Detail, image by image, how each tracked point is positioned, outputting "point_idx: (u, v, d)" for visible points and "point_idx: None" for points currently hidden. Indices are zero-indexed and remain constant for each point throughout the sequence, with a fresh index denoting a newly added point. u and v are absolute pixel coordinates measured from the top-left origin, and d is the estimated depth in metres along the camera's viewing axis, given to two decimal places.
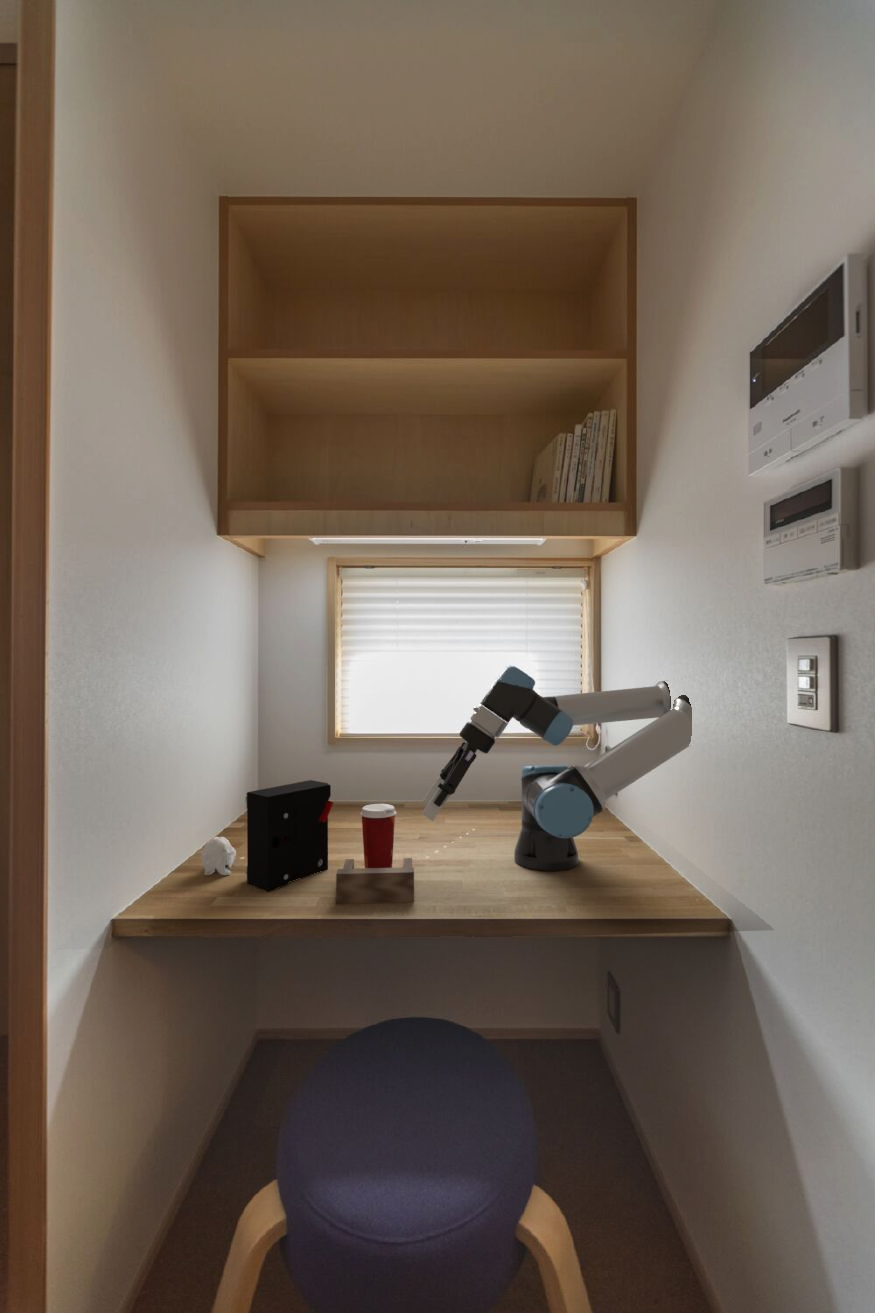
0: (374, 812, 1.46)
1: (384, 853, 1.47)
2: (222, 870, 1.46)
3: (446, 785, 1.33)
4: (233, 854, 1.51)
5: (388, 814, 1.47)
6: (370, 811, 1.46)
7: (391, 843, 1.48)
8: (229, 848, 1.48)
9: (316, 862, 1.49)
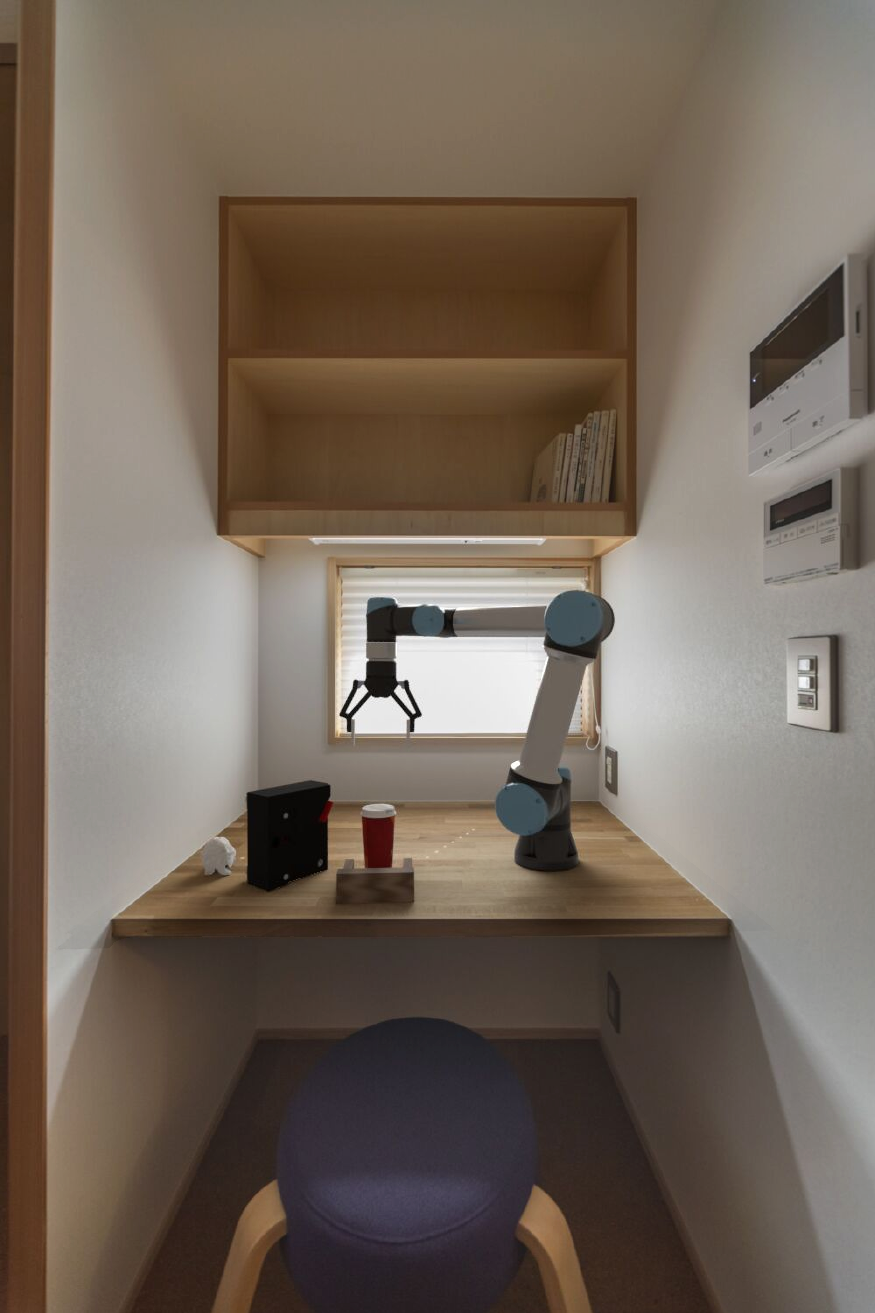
0: (374, 812, 1.46)
1: (384, 853, 1.47)
2: (222, 870, 1.46)
3: None
4: (233, 854, 1.51)
5: (388, 814, 1.47)
6: (370, 811, 1.46)
7: (391, 843, 1.48)
8: (229, 848, 1.48)
9: (316, 862, 1.49)
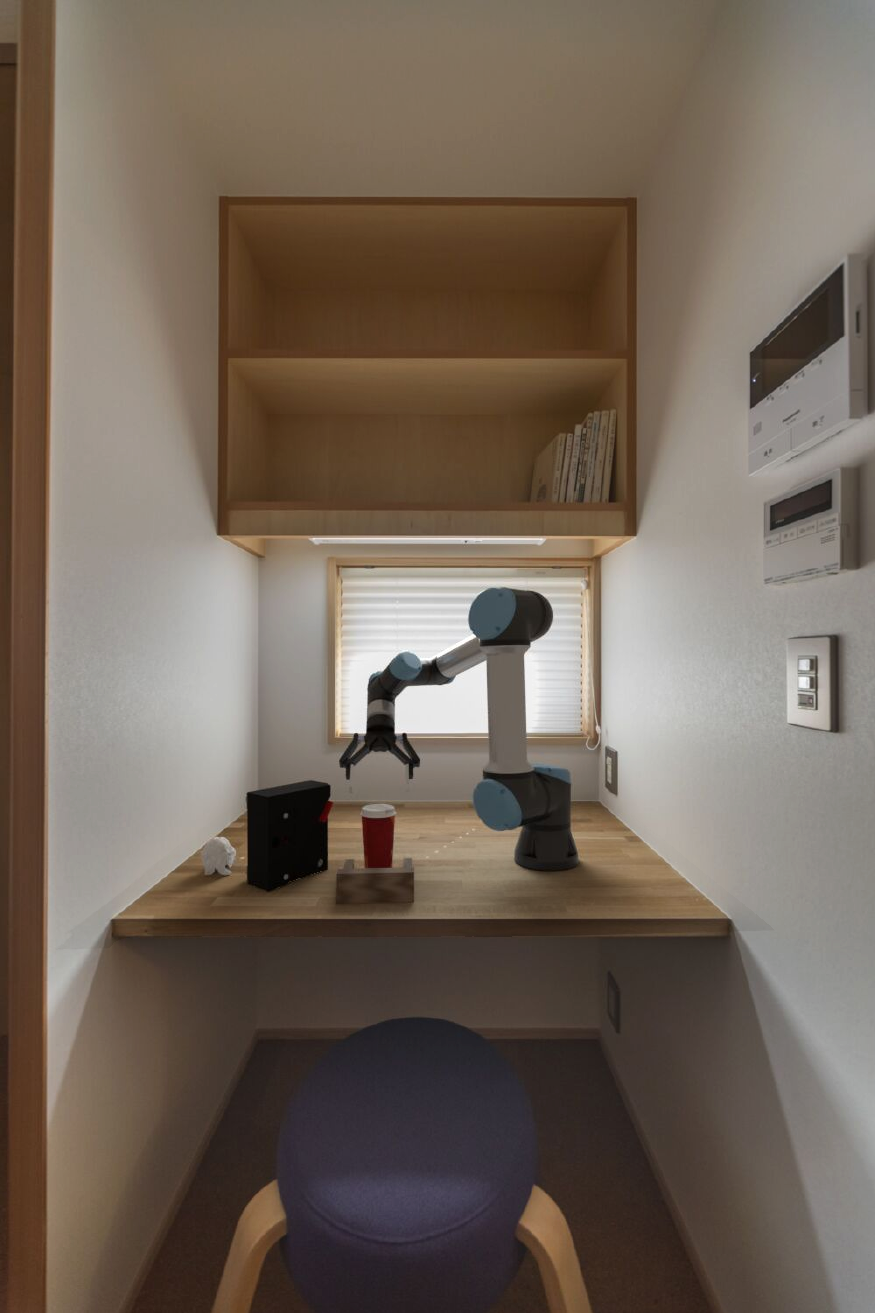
0: (374, 812, 1.46)
1: (384, 853, 1.47)
2: (222, 870, 1.46)
3: None
4: (233, 854, 1.51)
5: (388, 814, 1.47)
6: (370, 811, 1.46)
7: (391, 843, 1.48)
8: (229, 848, 1.48)
9: (316, 862, 1.49)
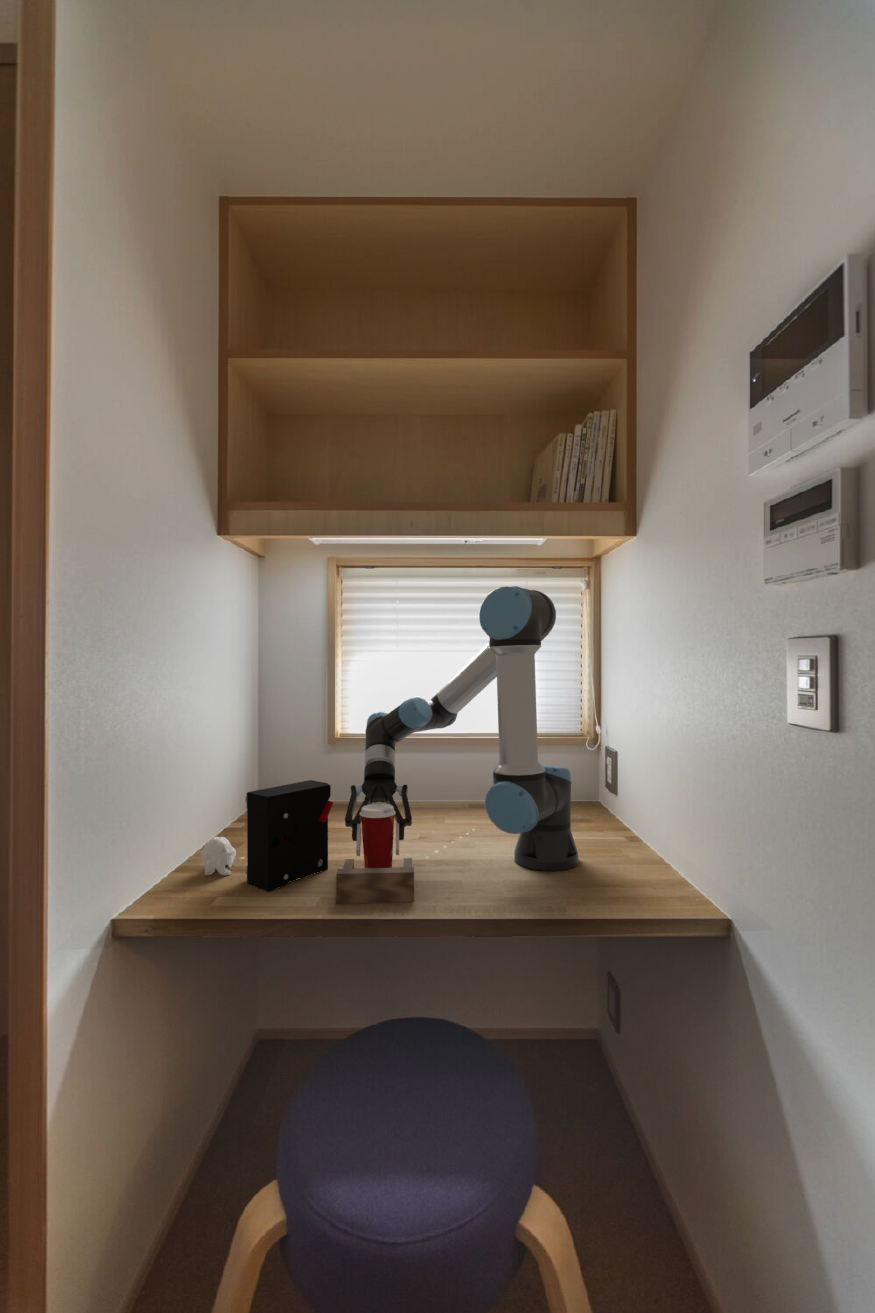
0: (373, 812, 1.46)
1: (384, 853, 1.47)
2: (222, 870, 1.46)
3: None
4: (233, 854, 1.51)
5: (387, 814, 1.46)
6: (369, 811, 1.46)
7: (391, 843, 1.48)
8: (229, 848, 1.48)
9: (316, 862, 1.49)
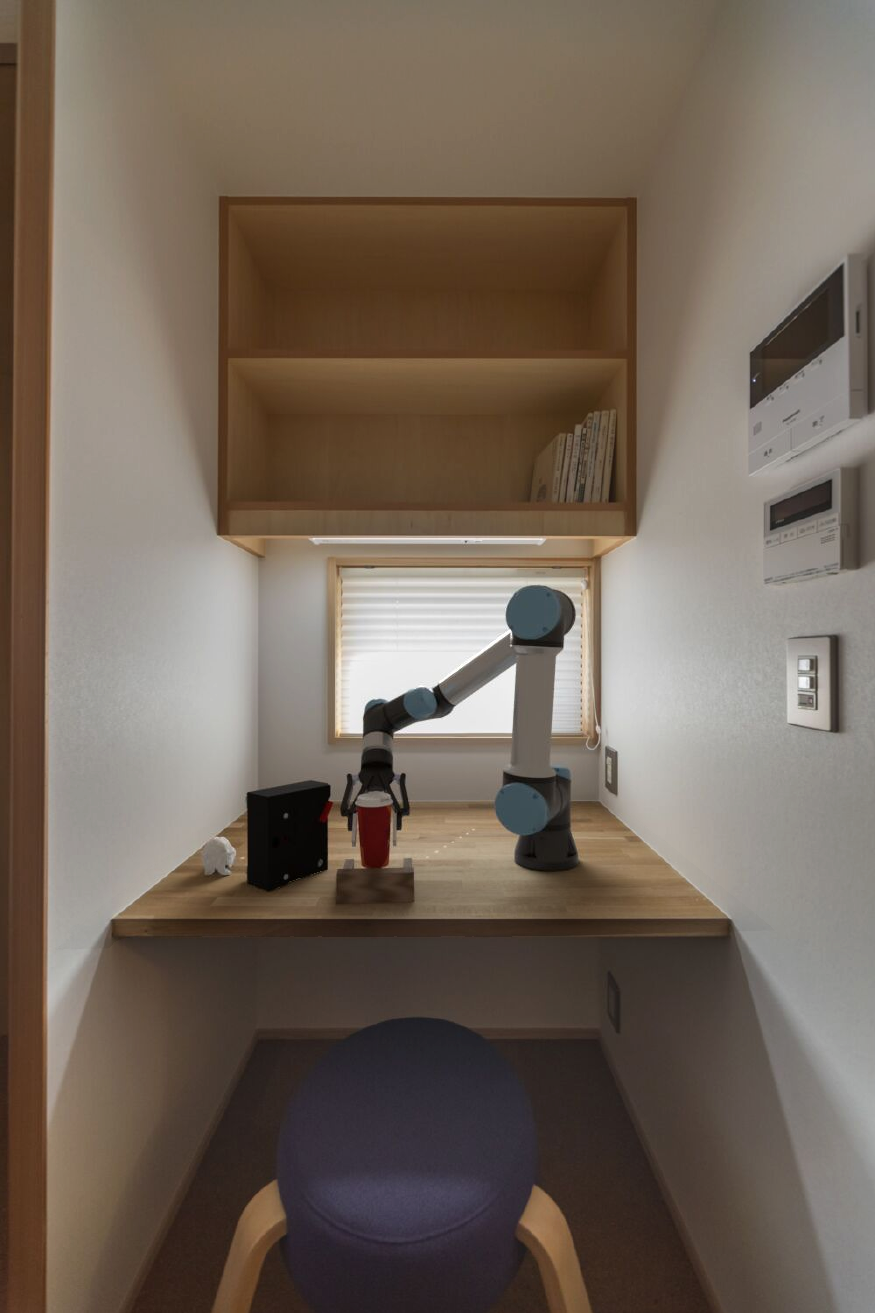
0: (369, 801, 1.40)
1: (381, 844, 1.41)
2: (222, 870, 1.46)
3: None
4: (233, 854, 1.51)
5: (384, 803, 1.41)
6: (365, 800, 1.40)
7: (388, 833, 1.42)
8: (229, 848, 1.48)
9: (316, 862, 1.49)
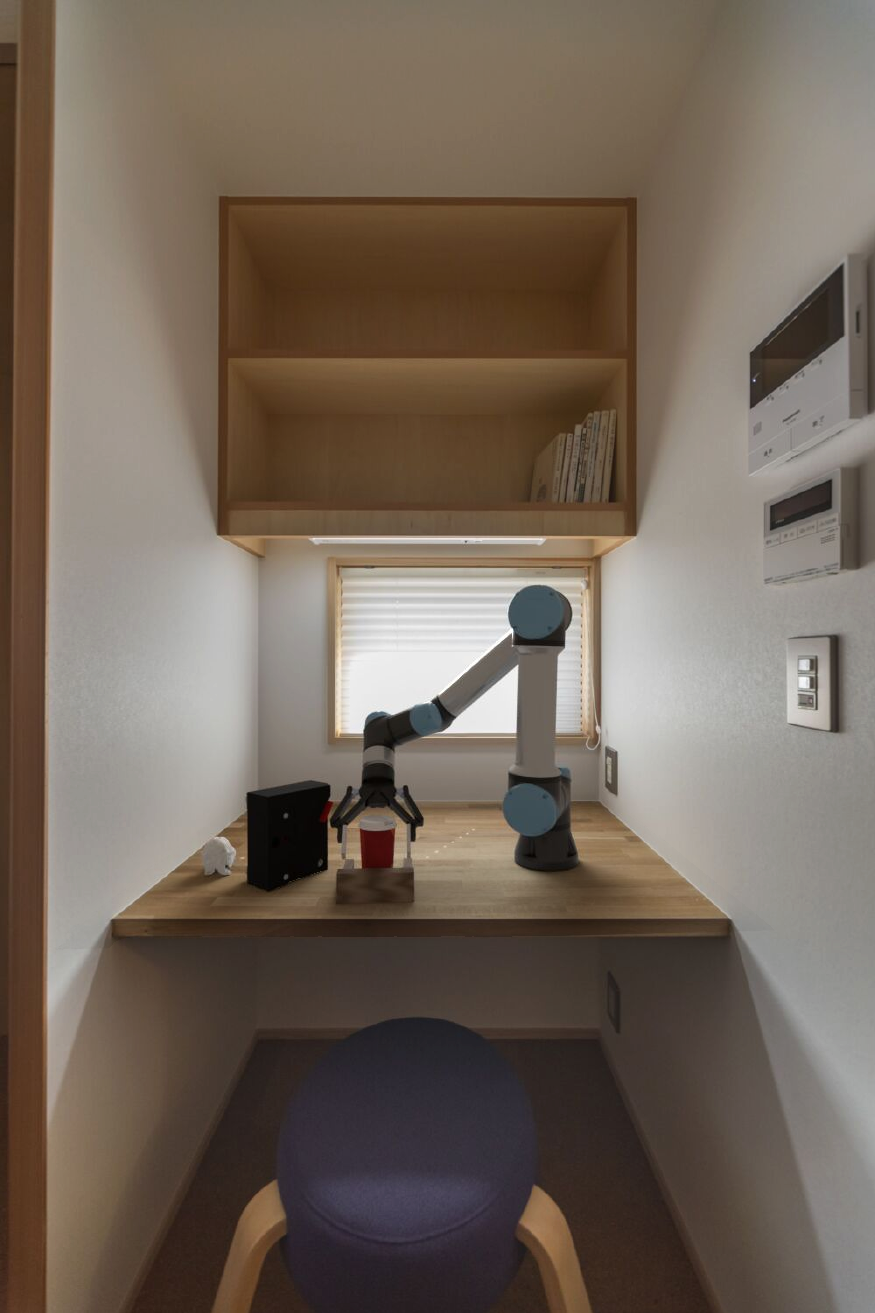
0: (373, 824, 1.35)
1: None
2: (222, 870, 1.46)
3: None
4: (233, 854, 1.51)
5: (388, 826, 1.36)
6: (369, 823, 1.36)
7: (391, 858, 1.37)
8: (229, 848, 1.48)
9: (316, 862, 1.49)
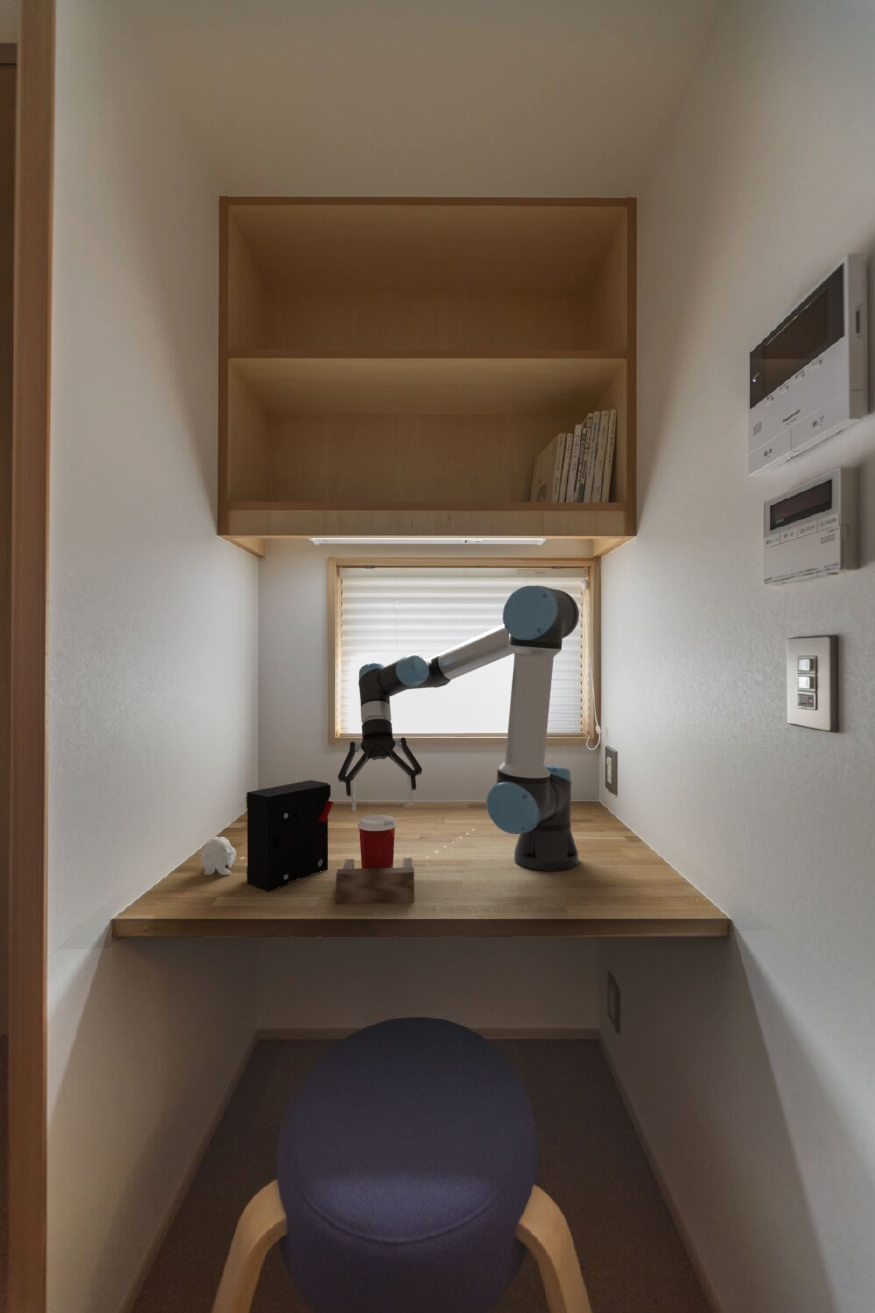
0: (372, 824, 1.35)
1: None
2: (222, 870, 1.46)
3: None
4: (233, 854, 1.51)
5: (388, 826, 1.36)
6: (368, 823, 1.36)
7: (391, 857, 1.37)
8: (229, 848, 1.48)
9: (316, 862, 1.49)
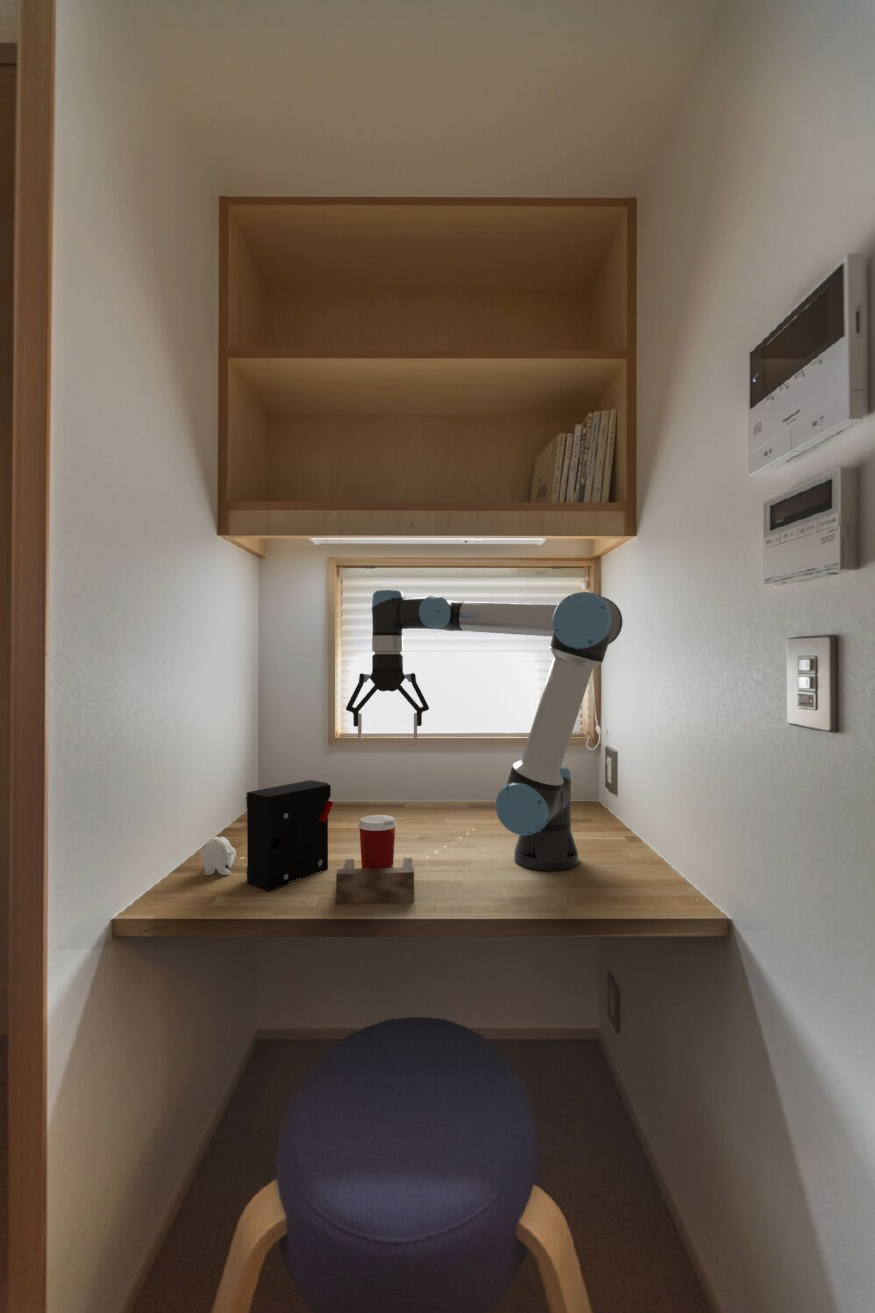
0: (373, 824, 1.35)
1: None
2: (222, 870, 1.46)
3: None
4: (233, 854, 1.51)
5: (388, 826, 1.36)
6: (368, 823, 1.36)
7: (391, 857, 1.38)
8: (229, 848, 1.48)
9: (316, 862, 1.49)
